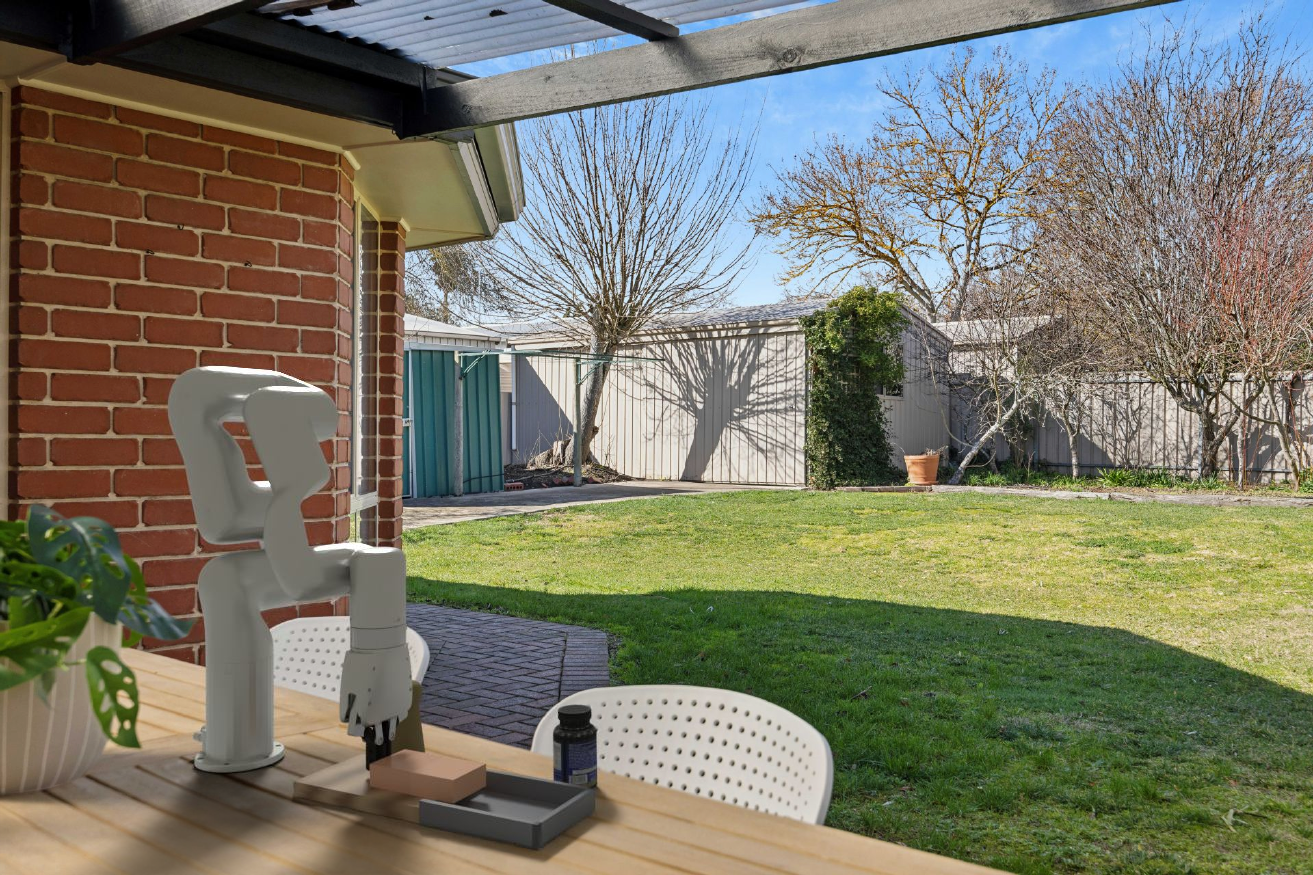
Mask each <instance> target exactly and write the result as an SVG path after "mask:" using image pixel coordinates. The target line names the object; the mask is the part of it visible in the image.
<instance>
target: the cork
mask: <svg viewBox="0 0 1313 875" xmlns="http://www.w3.org/2000/svg"><path fill="white" fill-rule="evenodd" d="M422 695H423V688H422V684H421V682H419V681H417V680H414V679H412V704H411V707H410V709H409V710H408V716H407V717H406V718H405V719H404V720H402V721H401V722H400V723H399V724H398V726H397V727H396V730H395V737H394V739H393V740H390V741H391V755H392V754H395V753H397V752H399V751H402V750H404V749H406V750H412V751H418V752H423V753H426V747H425V739H424V733H423V726H422V718H421V710H420V704H419V703H420V700H421V699H422Z"/></svg>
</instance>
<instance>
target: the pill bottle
mask: <svg viewBox="0 0 1313 875" xmlns="http://www.w3.org/2000/svg"><path fill="white" fill-rule="evenodd" d="M592 717H593V714H592V708H591V706H589V705H587V704H586V705H585V704H569V705H568V704H567V705H563V706H561V707H559V708H558V709H557V719H558V720H559V724H557V725H556V726H554V729H553V732H552V761H553V764H552V768H553V769H552V770H553V779H552V780H553V781H559V782H564V783H570V784H576V785H581V786H587V787H592V788H595V789H596V788H597V787H598V746H597V745H598V740H597V739H598V736H597V734H598V733H597V728H596V726H595V725H594V724H593V723H591V719H592Z"/></svg>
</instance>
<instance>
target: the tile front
mask: <svg viewBox="0 0 1313 875" xmlns="http://www.w3.org/2000/svg"><path fill="white" fill-rule="evenodd" d="M443 756H444V757H442V758H440V759H438V760H435V761H433V762H431V763H429V764H427V765H424V766H422V767H420V768H418V769H416V770H414V771H411V772H410V795H414V796H418V797H423V798H428V799H433V800H438V801H443V802H448V803H455V802H457V801H459V800H461V799H463V798H465V797H466V796H468V795H470V794H472V793H474V792H476V791H478V790H480V789H481V788H483V787H485V786H486V769H487V763H484V762H478V761H472V760H467V759H462V758H457V757H450V756H445V755H443Z"/></svg>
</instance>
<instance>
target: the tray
mask: <svg viewBox="0 0 1313 875" xmlns="http://www.w3.org/2000/svg"><path fill="white" fill-rule="evenodd" d="M595 812H596V788H592V787H587V786H581V785H576V784H570V783H564V782H559V781H554V779H548V778H541V777H537V776H531V775H525V774H518V773H513V772H507V771H504V770H498V769H491V768H486V786H485V787H483V788H481V789H480V790H478V791H476V792H475V793H473V794H471V795H469V796H467V797H465V798H463V799H461V800H460V801H458V802H456V803H454V804H447V803H442V802H437V801H432V800H428V799H421V800H419V823H418V824H419V826H425V827H430V828H433V829H438V830H442V831H447V832H452V833H456V834H461V835H466V836H469V837H474V838H480V839H482V840H488V841H493V842H496V843H497V842H498V843H501V842H503V844H507V845H511V844H513V845H512V846H515V845H516V847H520V846H522V847H521V848H525V849H529V850H533V851H534V850H535V851H540V850H541V849H542V848H544V847H545V846H547V845H548V844H549V843H551V842H552V841H554V840H555V839H557V838H558V837H560V836H561V835H563V834H564V833H566V832H567V831H568V830H570V829H572V827H574V826H576V825H578V824H579V823H580V822H581V821H583V820H584V819H586V818H587V817H589V816H590V815H592V814H593V813H595ZM562 833H563V834H562ZM559 835H560V836H559ZM546 844H547V845H546ZM543 846H544V847H543ZM540 848H541V849H540Z"/></svg>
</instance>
